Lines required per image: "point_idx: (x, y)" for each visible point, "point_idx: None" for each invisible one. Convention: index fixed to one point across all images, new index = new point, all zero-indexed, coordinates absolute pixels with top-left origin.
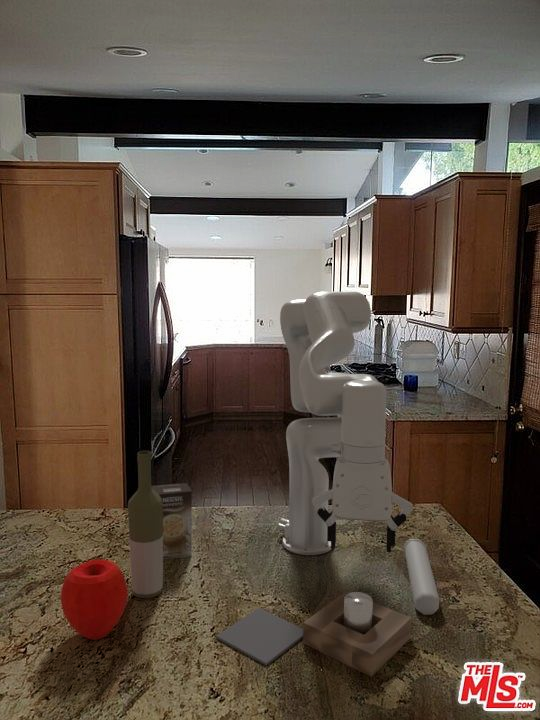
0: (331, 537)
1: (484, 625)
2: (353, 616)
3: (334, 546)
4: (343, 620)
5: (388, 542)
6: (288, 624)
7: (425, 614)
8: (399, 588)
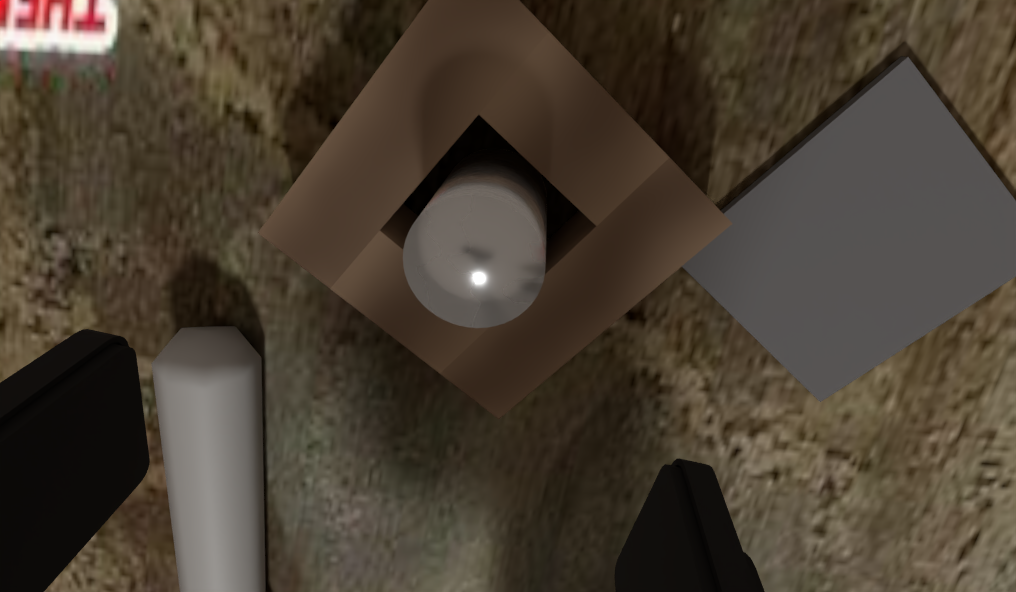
0: (742, 565)
1: (38, 262)
2: (513, 189)
3: (675, 471)
4: None
5: (18, 402)
6: (738, 300)
7: (230, 326)
8: (305, 468)
